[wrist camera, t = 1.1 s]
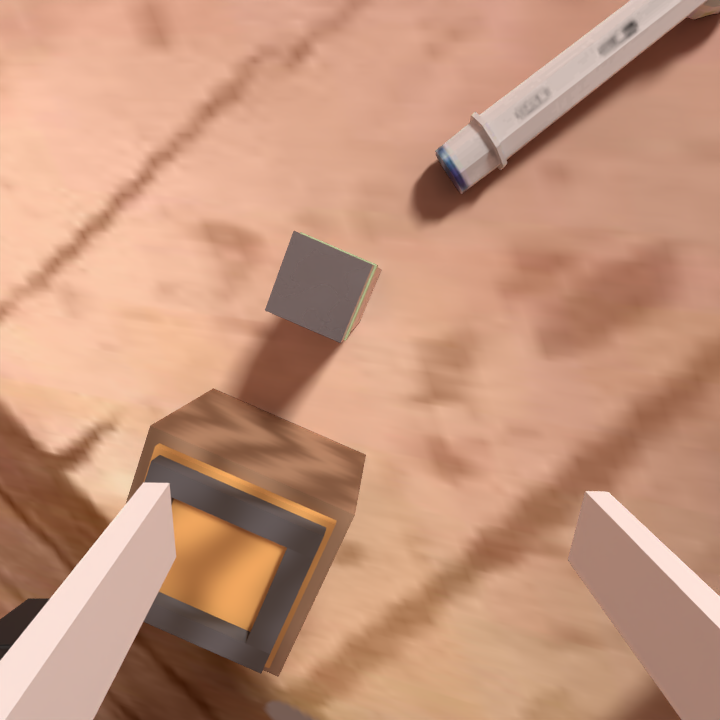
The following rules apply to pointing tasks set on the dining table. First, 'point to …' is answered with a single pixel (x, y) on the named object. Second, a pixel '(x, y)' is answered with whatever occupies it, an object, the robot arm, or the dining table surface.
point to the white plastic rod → (561, 86)
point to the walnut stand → (246, 525)
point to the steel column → (322, 287)
